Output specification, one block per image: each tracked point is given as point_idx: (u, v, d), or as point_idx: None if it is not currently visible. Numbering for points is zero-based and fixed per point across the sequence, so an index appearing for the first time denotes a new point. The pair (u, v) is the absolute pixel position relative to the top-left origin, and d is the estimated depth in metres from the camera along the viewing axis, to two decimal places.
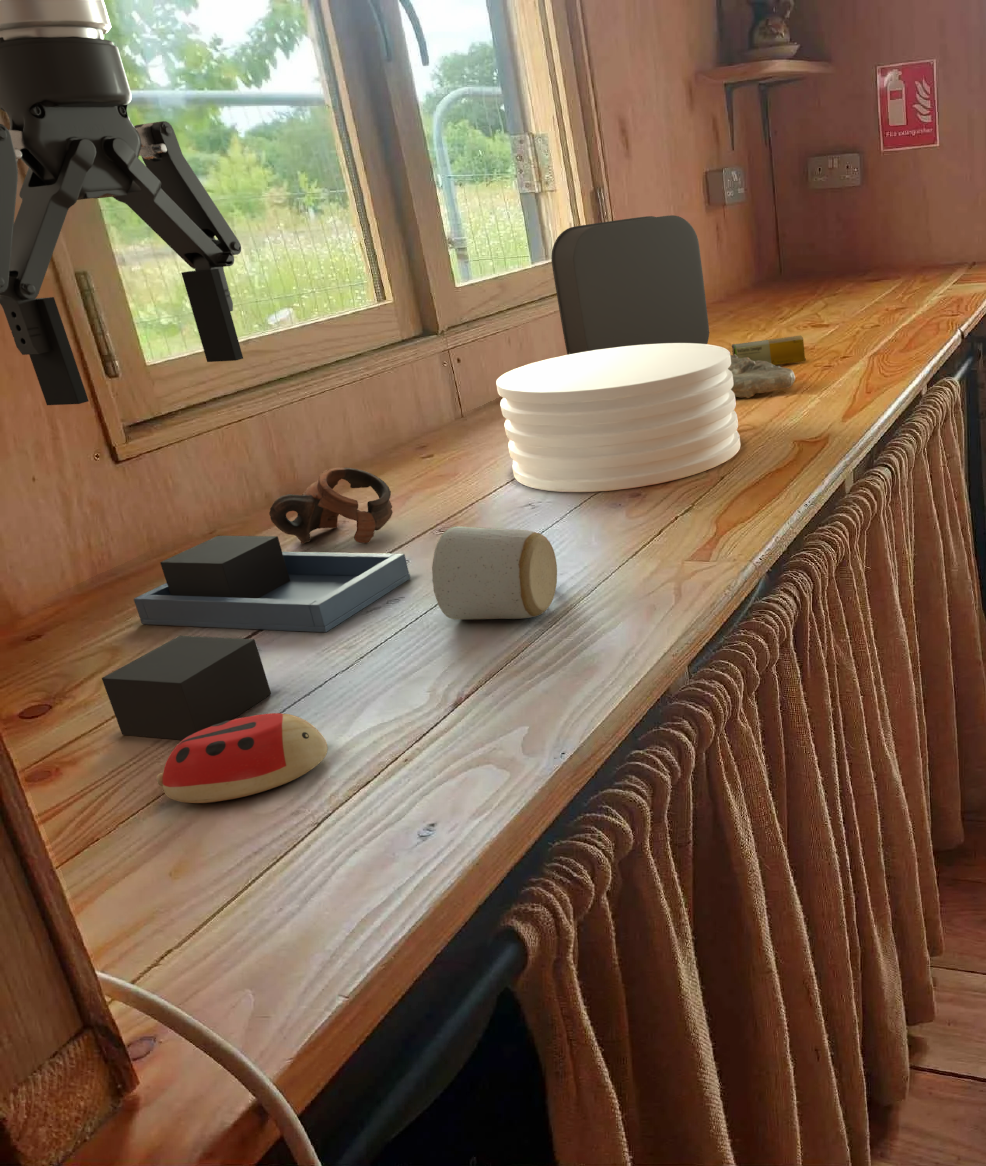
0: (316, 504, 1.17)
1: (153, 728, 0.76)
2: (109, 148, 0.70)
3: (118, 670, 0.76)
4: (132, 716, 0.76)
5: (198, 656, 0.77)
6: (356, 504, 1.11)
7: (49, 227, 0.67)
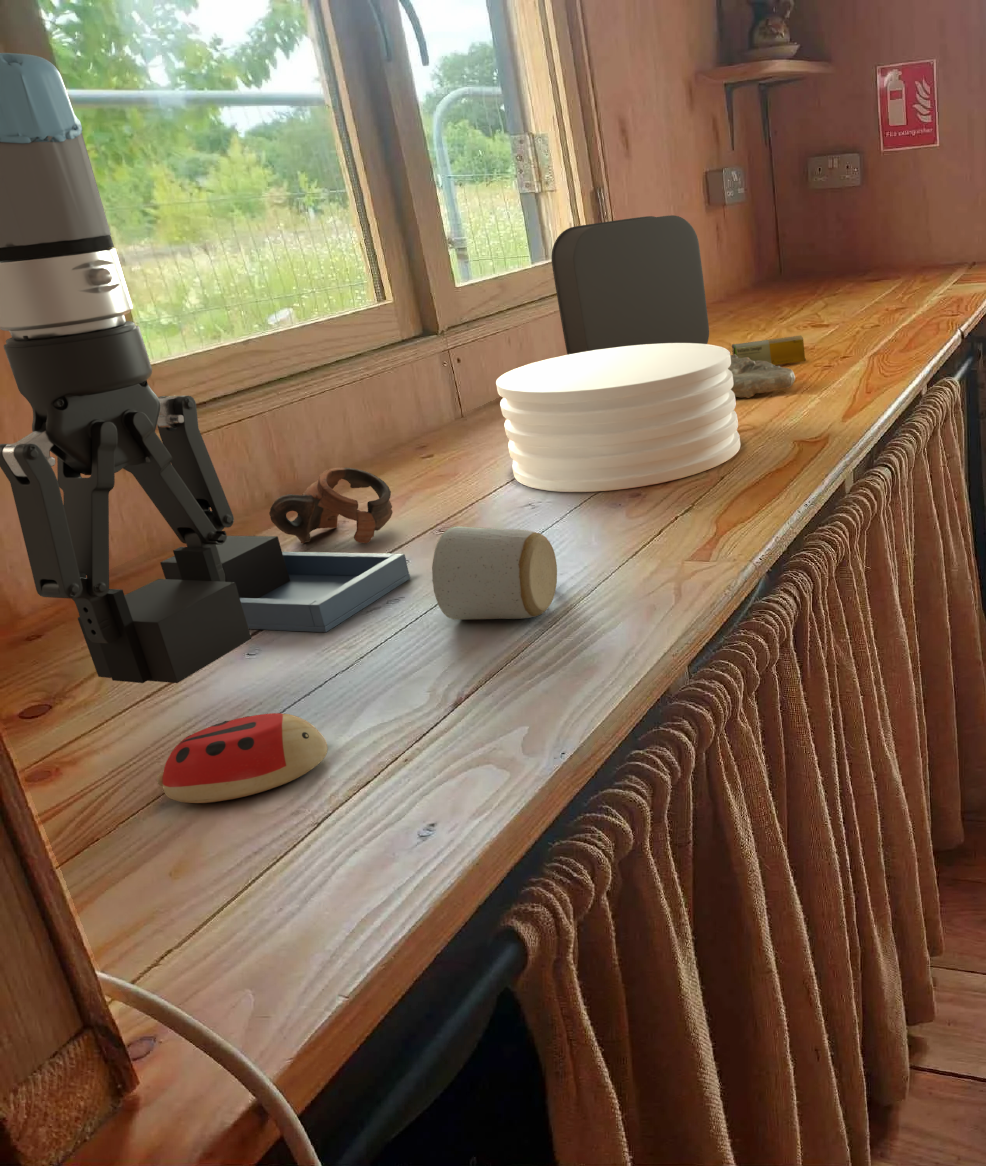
0: (316, 504, 1.17)
1: None
2: (129, 420, 0.71)
3: None
4: None
5: (176, 597, 0.76)
6: (356, 504, 1.11)
7: (99, 521, 0.70)
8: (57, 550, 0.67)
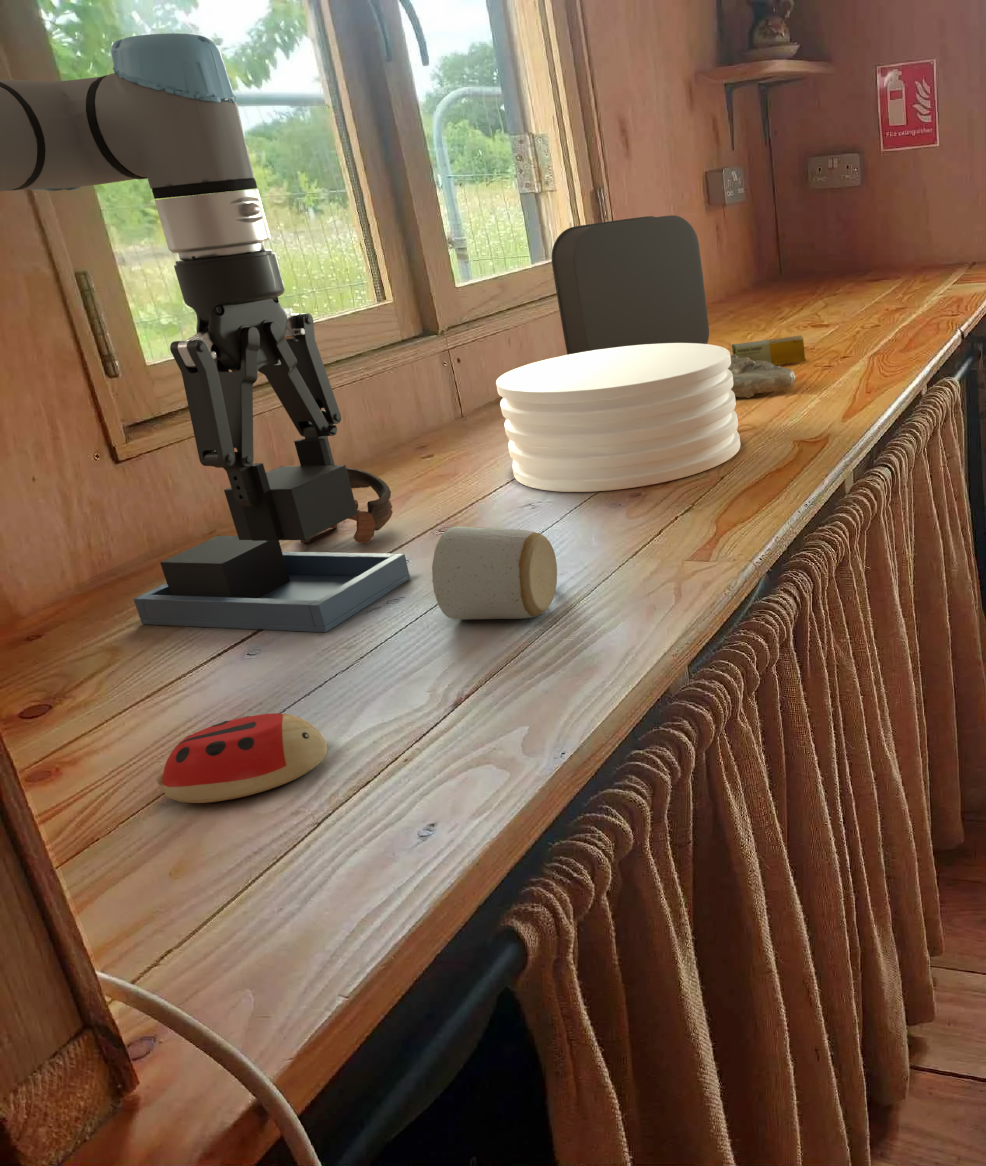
0: None
1: None
2: (267, 327, 0.90)
3: None
4: None
5: (301, 475, 0.94)
6: (356, 504, 1.11)
7: (246, 406, 0.88)
8: (218, 426, 0.86)
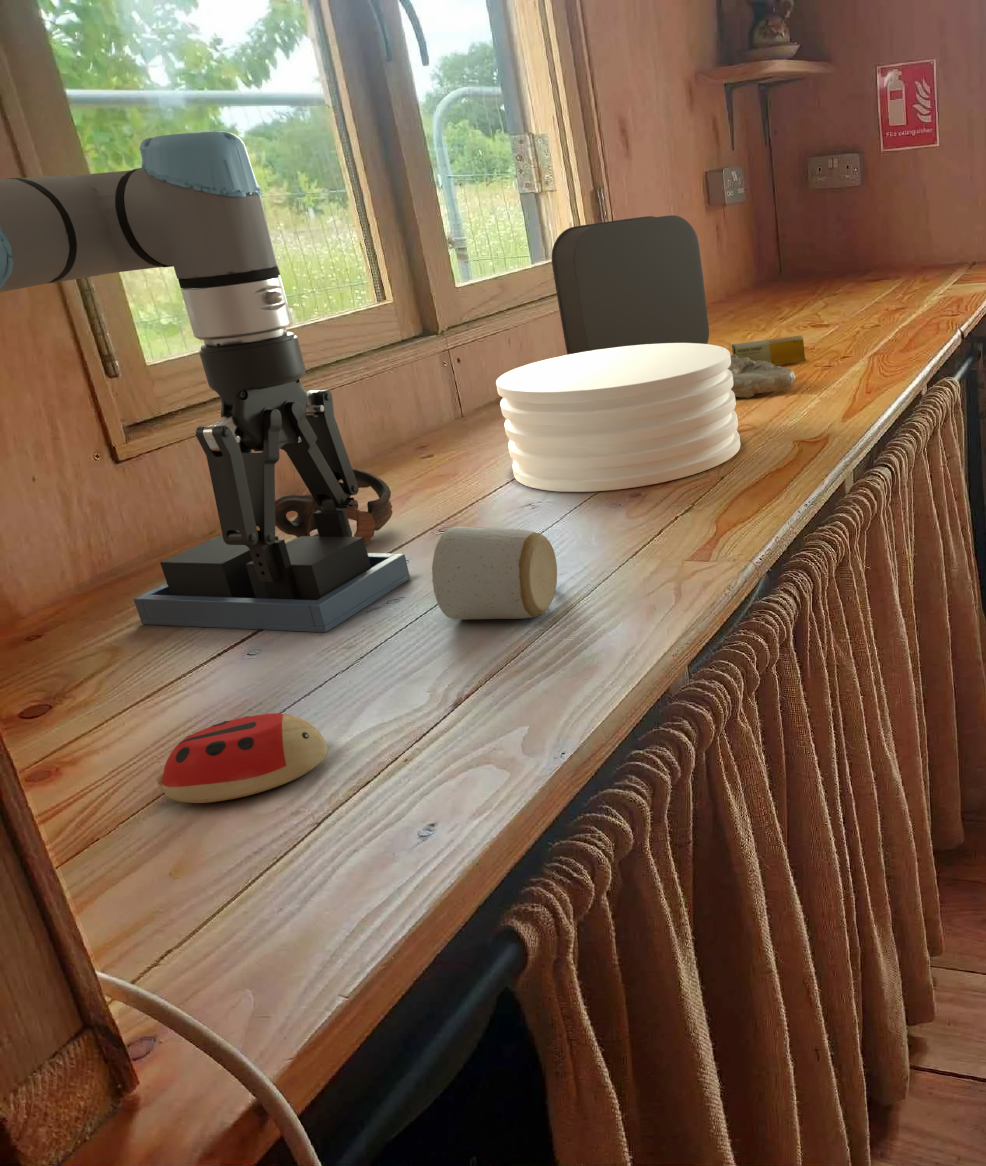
0: (316, 504, 1.17)
1: None
2: (288, 408, 0.92)
3: None
4: None
5: (320, 548, 0.96)
6: (356, 504, 1.11)
7: (268, 486, 0.91)
8: (241, 507, 0.88)
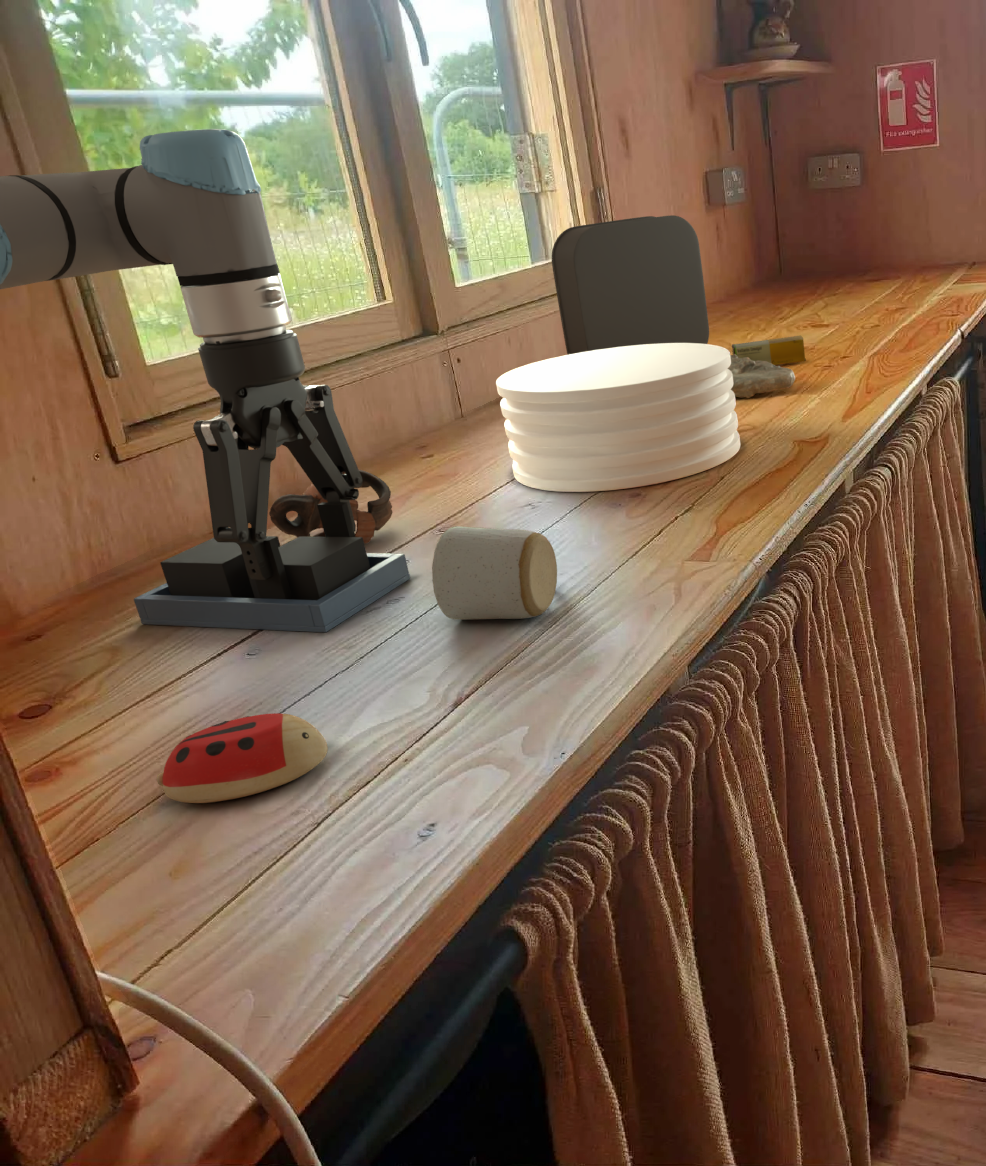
0: (316, 504, 1.17)
1: None
2: (288, 407, 0.92)
3: None
4: None
5: (319, 548, 0.96)
6: (356, 504, 1.11)
7: (263, 483, 0.90)
8: (234, 503, 0.87)
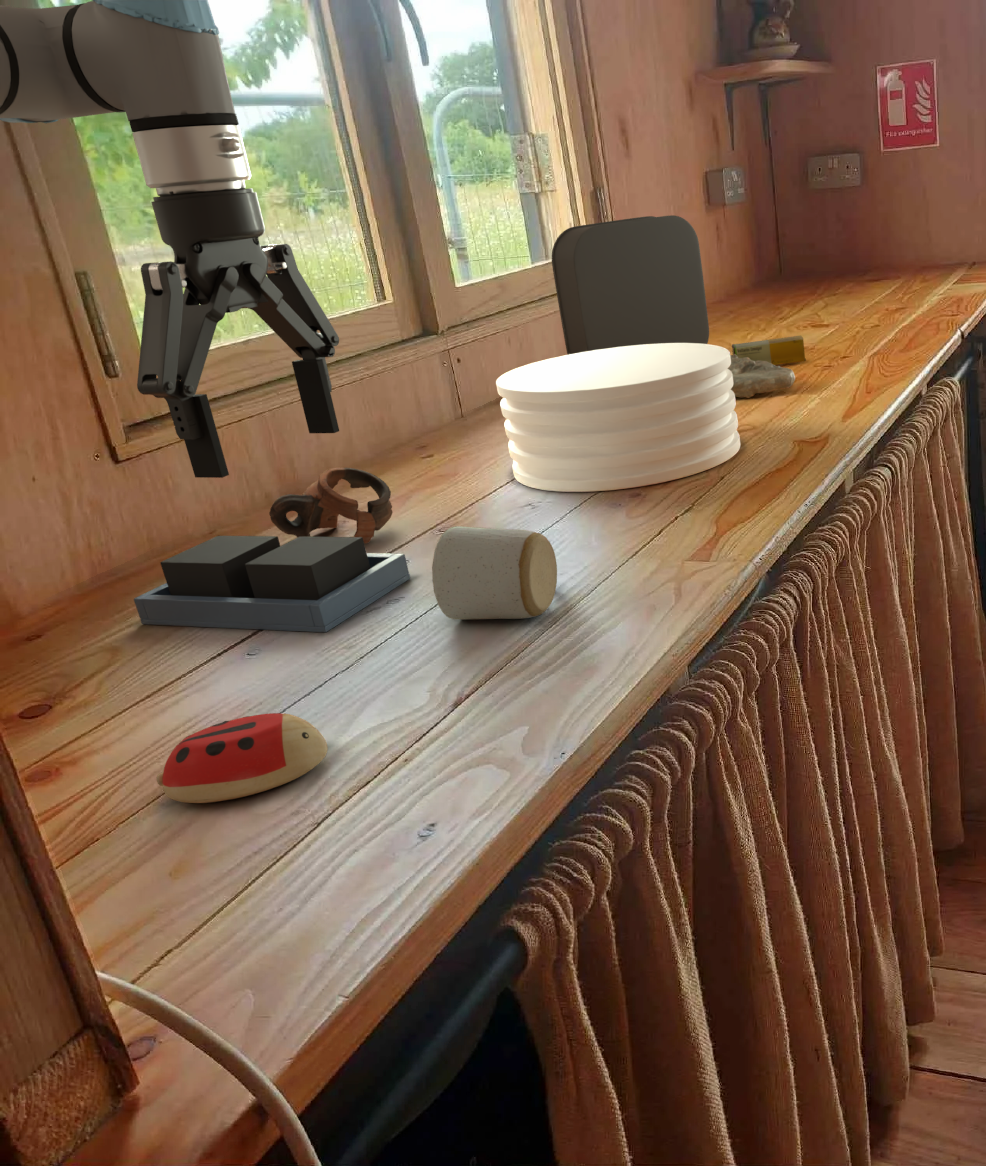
0: (316, 504, 1.17)
1: None
2: (247, 271, 0.88)
3: (256, 559, 0.96)
4: (268, 595, 0.95)
5: (319, 548, 0.96)
6: (356, 504, 1.11)
7: (204, 339, 0.85)
8: (166, 350, 0.81)
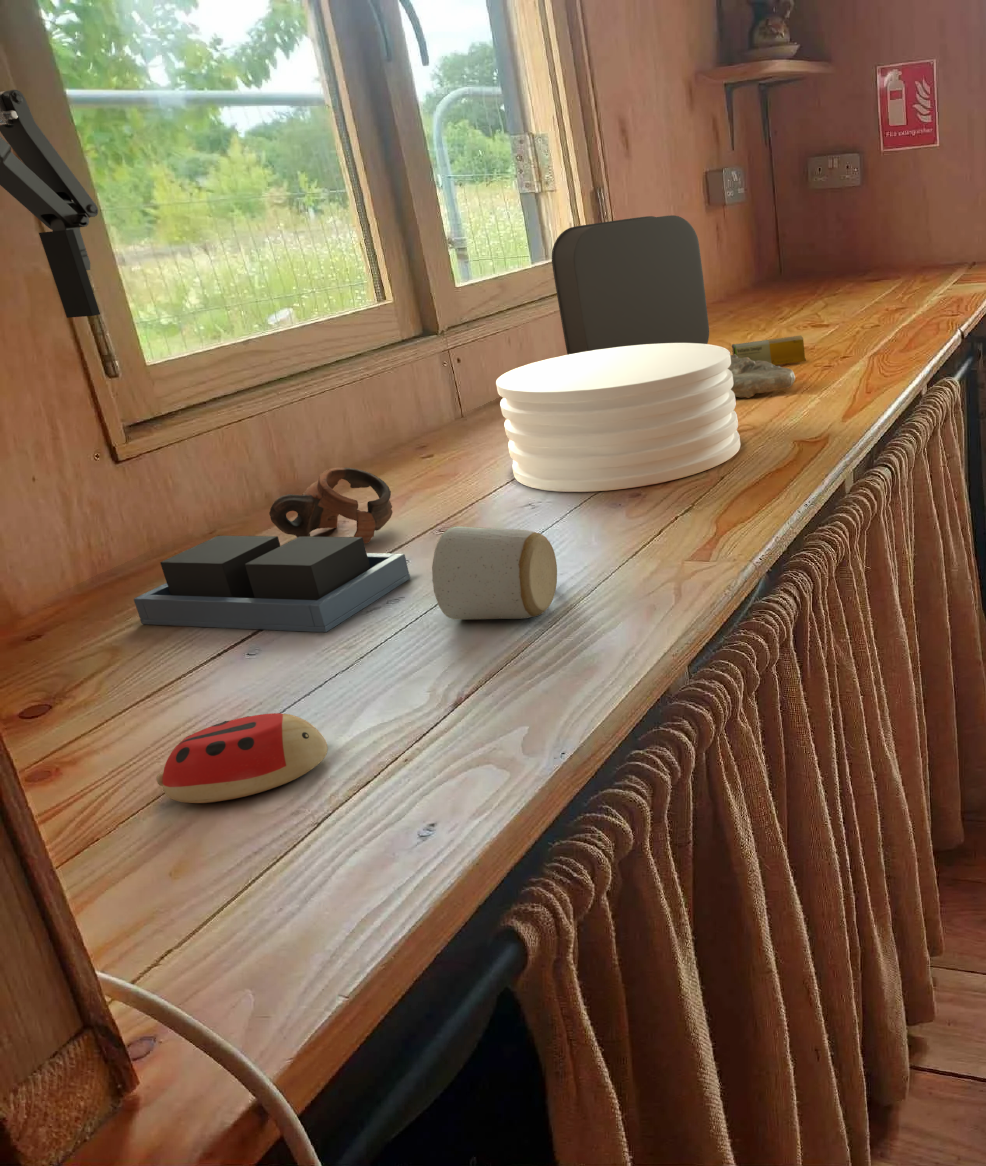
0: (316, 504, 1.17)
1: None
2: None
3: (256, 559, 0.96)
4: (268, 595, 0.95)
5: (319, 548, 0.96)
6: (356, 504, 1.11)
7: None
8: None
